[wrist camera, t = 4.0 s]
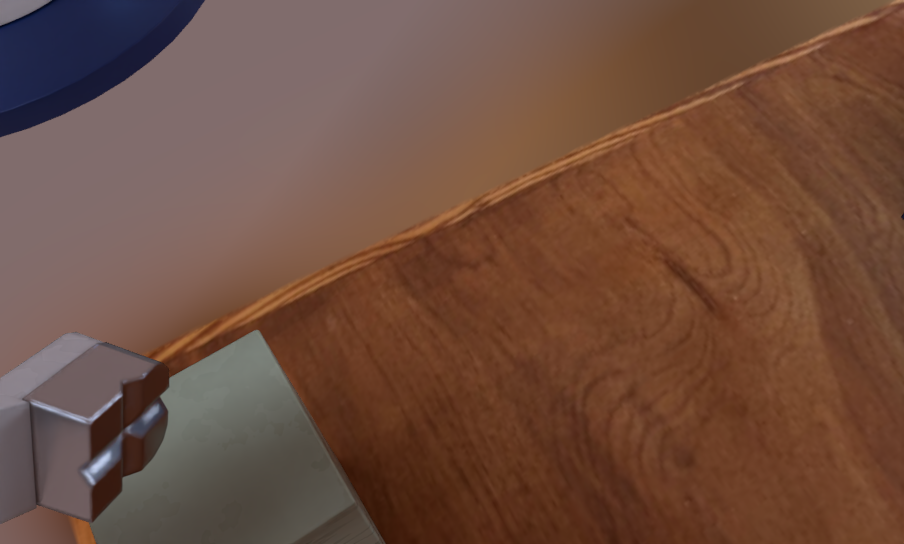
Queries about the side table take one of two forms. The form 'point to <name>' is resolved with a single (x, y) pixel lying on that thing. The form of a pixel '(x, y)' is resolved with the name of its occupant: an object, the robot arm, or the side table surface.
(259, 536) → the block
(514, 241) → the side table surface
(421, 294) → the side table surface
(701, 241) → the side table surface
